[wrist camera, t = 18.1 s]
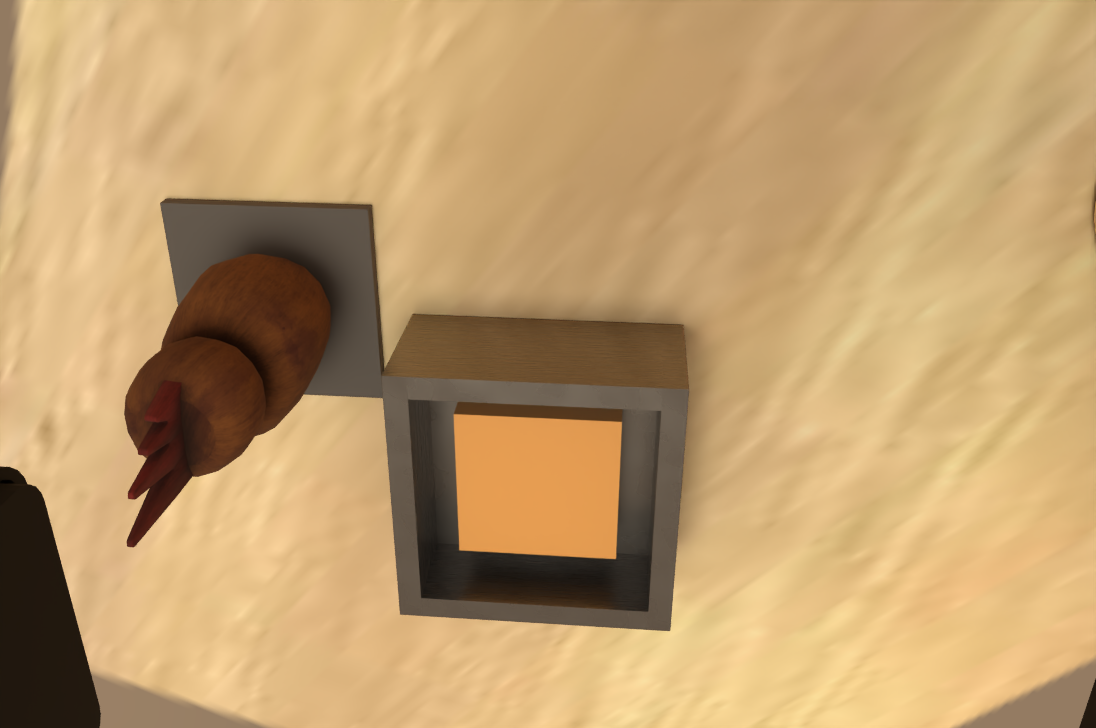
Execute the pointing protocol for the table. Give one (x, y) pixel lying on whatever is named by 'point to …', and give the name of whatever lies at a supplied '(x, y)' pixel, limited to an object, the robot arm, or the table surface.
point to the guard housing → (548, 380)
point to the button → (538, 479)
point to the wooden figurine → (223, 373)
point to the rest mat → (311, 241)
